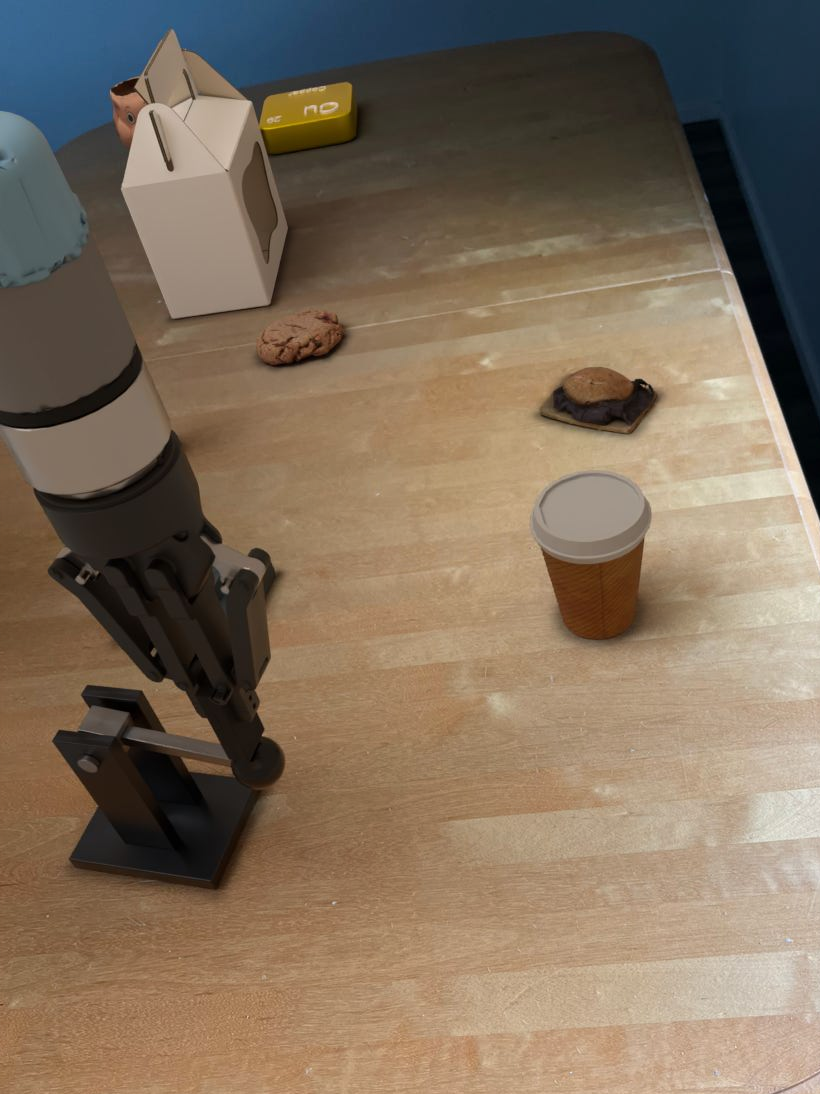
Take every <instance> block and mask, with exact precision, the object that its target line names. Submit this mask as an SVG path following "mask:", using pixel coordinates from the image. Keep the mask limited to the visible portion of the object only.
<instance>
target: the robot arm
mask: <svg viewBox="0 0 820 1094" xmlns="http://www.w3.org/2000/svg"><path fill="white" fill-rule="evenodd" d="M88 221H89V218H88V214H87V212H86V209H85V206H84V205H83V204H81V201H80V200H79V197H78V194H76V193H74V192H73V191H72V189H71V187H70V185H69V183H68V181H67V179H66V177H65V174H64V172H63V171H62V169H61V166H60V164H59V162H58V160H57V158H56V156H55V154H54V152H53V150H52V148H51V145H50V144H49V141H48V140H47V138H46V137H45V134H43V132H42V131H41V130H40V129H39V128H38V127H37V126H36V125H35V124H34V123H33V122H31V121H30V120H28V119H27V118H25V117H23V116H21V115H19V114H16V113H13V112H10V111H4V110H0V437H1V439H2V441H3V443H4V445H5V447H6V449H7V450H8V452H9V454H10V456H11V457H12V459H13V461H14V463H15V464H16V466H17V467H18V468H17V469H18V470H19V472H20V474H21V475H22V478H23V479H24V481H25V483H26V484H28V485H29V486H31V487H33V493H34V496H35V498H36V500H37V502H38V503H39V505H40V507H41V508H42V511H43V512H44V514H45V516H46V517H47V519H48V521H49V523H50V524H51V526H52V528H53V530H54V531H55V533H56V535H57V536H58V538H59V540H60V541H61V543H62V544H63V545H64V546H63V547H62V549H61V550H60V552H59V553H58V554H57V555H56V557H55V558H54V560H53V561H52V563H51V564H50V565H49V566H48V568H47V574H48V575H49V577H51V579H52V580H54V581H55V582H56V583H58V584H59V585H60V586H62V587H63V588H64V589H66V591H68V592H69V593H71V594H72V595H73V596H75V597H76V598H77V599H78V600H79V601H80V602H81V603H82V604H83V606H84V607H85V608H86V609H87V610H88V612H89V613H90V614H91V616H93V617H94V619H96V621H97V622H98V623H99V624H100V626H101V627H102V628H103V629H104V630H105V631H106V633H108V634H109V636H110V637H111V638H112V639H113V641H114V642H115V643H116V644H117V645H118V646H119V648H120V649H121V650H122V651H123V652H124V653H125V654H126V656H128V658H129V659H130V660H131V661H132V663H134V665H135V666H136V667H137V668H138V670H139V671H140V672H141V673H142V674H143V675H144V676H145V678H147V680H150V681H151V682H154V683H157V684H158V683H162V682H163V681H164V679H167V680H169V681H172V682H173V684H174V685H175V686H176V688H177V689H178V690H181V691H182V692H185V694H186V695H187V698H188V700H189V702H190V703H191V705H192V706H193V709H194V710H195V712H196V714H197V715H198V716H199V717H200V718H201V719H206V720H207V721H208V723H209V725H210V726H211V729H212V730H213V733H214V734H215V736H216V738H217V740H218V743H219V744H221V746H222V748H223V749H224V751H225V753H226V755H227V757H228V759H230V760H238V761H247V762H250V760H251V758H252V756H253V754H254V752H255V749H256V747H257V745H258V743H259V741H260V739H261V737H262V736H263V734H264V732H265V730H266V727H265V725H264V723H263V722H262V720H261V718H260V716H259V713H258V709H259V707H260V702H261V700H260V698H259V695H258V693H257V691H256V690H257V688H258V686H259V683H260V681H261V679H262V677H263V676H264V674H265V672H266V669H267V667H268V666H269V664H270V661H271V659H272V654H271V645H270V644H271V643H270V635H269V634H270V633H269V625H268V616H267V607H266V606H267V605H266V599H265V598H266V595H265V596H264V587H263V577H264V574H265V572H266V570H267V568H268V566H269V563H270V561H271V562H272V558H271V556H270V554H269V552H268V551H266V550H264V549H262V548H259V547H257V548H256V547H253V548H251V550H250V551H249V552H248V554H244V553H243V552H241V551H239V550H236V549H234V548H232V547H230V546H228V545H226V544H224V543H223V537H222V535H221V532H220V531H219V529H217V528H216V526H215V525H214V524H212V523H211V522H210V521H209V519H208V518H207V517H206V515H205V514H204V512H203V507H202V501H201V500H202V499H201V493H200V486H199V483H198V482H199V481H198V480H197V477H196V476H195V473H194V470H193V468H192V466H191V464H190V461H189V459H188V457H187V454H186V451H185V449H184V447H183V445H182V442H181V441H180V438H179V436H178V434H177V433H176V432H175V431H174V430H173V428H172V423H171V418H170V415H169V413H168V412H167V409H166V407H165V404H164V401H163V400H162V398H161V395H160V393H159V391H158V388H157V387H156V384H155V382H154V379H153V376H152V374H151V372H150V370H149V368H148V366H147V363H146V362H145V359H144V357H143V355H142V352H141V350H140V347H139V345H138V343H137V339H136V336H135V334H134V332H133V329H132V327H131V325H130V322H129V319H128V317H127V315H126V313H125V310H124V308H123V305H122V302H121V300H120V298H119V296H118V293H117V291H116V288H115V286H114V284H113V281H112V279H111V275H110V273H109V272H108V269H107V267H106V264H105V262H104V259H103V256H102V254H101V251H100V250H99V247H98V244H97V242H96V239H95V237H94V235H93V233H92V229H91V228H90V225H89V222H88ZM213 567H214V568H215V569H216V570H217V571H218V572H219V574H220V580H221V582H222V583H223V584H222V586H221V588H220V590H221V592H222V593H224V594H228V596H227V599H226V613H227V616H226V614H225V612H224V610H223V607H222V605H221V603H220V601H219V599H218V597H217V594H216V592H215V590H214V583H215V577H214V574H213V572H212V568H213ZM154 649H155V650H156V651H155V653H154V655H153V654H152V652H153V651H154Z"/></svg>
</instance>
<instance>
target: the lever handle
mask: <svg viewBox="0 0 820 1094" xmlns="http://www.w3.org/2000/svg"><path fill="white" fill-rule="evenodd" d="M77 732H83V733H92V734H100V735H109V736H115V737H116V738H117V739H118V741H119V743H120V744H121V746H122V747H123V749H124V750H125V752H126V753H127V751H128V750H129V748H130V747H134V748H139V749H144V750H149V751H154V752H158V753H163V754H168V755H173V756H178V757H181V758H184V759H188V760H192V761H198V762H202V763H208V764H212V765H217V766H221V767H226V768H231V772H232V775H233V777H235V778H236V780H237V781H238V782H239V783H240V784H242V785H243V786H245V787H247V788H250V789H255V790H259V789H261V790H265V789H269V788H270V787H272V786H274V785H275V784H276V783H278V781H279V780H280V779H281V778H282V776H283V774H284V772H285V769H286V765H287V763H286V762H287V760H286V756H285V755H286V754H285V752H284V750H283V748H282V747H281V745H280V743H278V742H277V741H276V740H274V739H273V738H271V737H269V736H265V735H262V737H261V739H260V741H259V743H258V745H257V747H256V749H255V752H254V754H253V756H252V758H251V760H250V762H247V761H238V760H230V759H228V757H227V755H226V753H225V751H224V749H223V748H222V746H221V744H220V743H219V742H218V743H217V742H212V741H208V740H203V739H202V740H201V739H198V738H193V737H190V736H189V737H188V736H184V735H179V734H175V733H170V732H166V733H164V732H159V731H154V730H150V729H145V728H140V727H135V725H134V723H133V720H132V718H131V715H130V713H129V712H124V711H119V710H114V709H109V708H104V707H99V706H95V705H92V706H91V708H90V709H89V710H88V711H87V713H86V715H85V716H84V717H83V719H82V721H81V722H80V724H79V726H78V728H77Z"/></svg>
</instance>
